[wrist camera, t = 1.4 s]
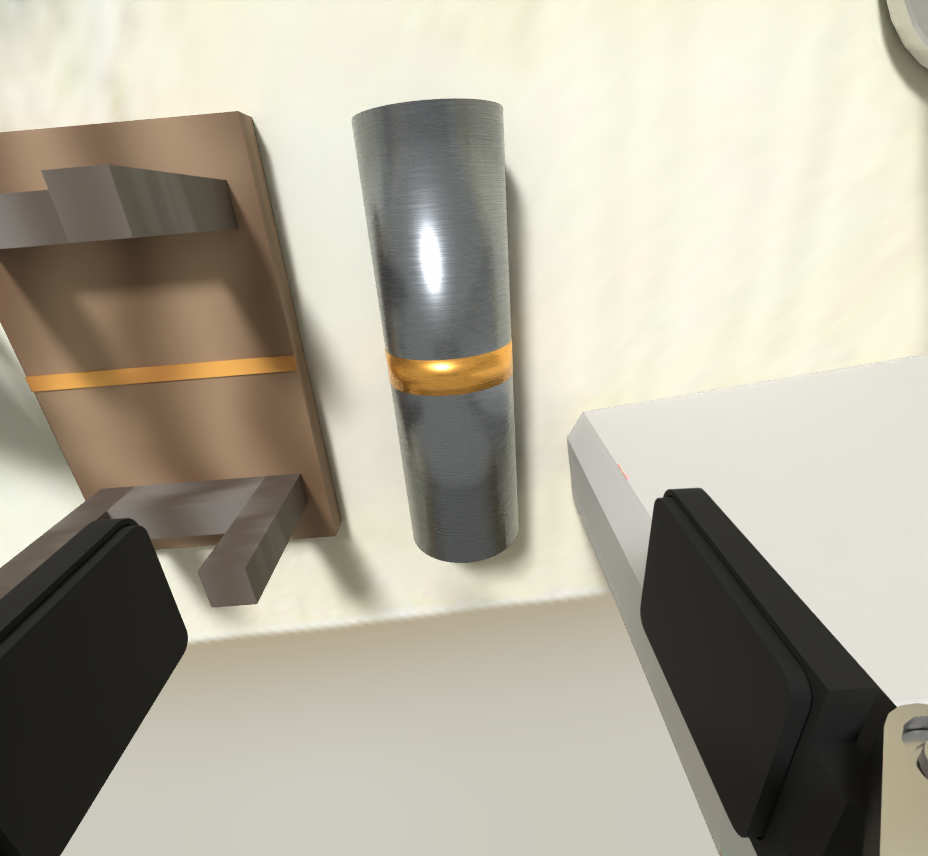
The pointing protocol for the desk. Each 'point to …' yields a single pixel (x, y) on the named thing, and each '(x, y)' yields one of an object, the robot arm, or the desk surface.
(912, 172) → the desk surface
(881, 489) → the bevelled white case
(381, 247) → the grey cylinder
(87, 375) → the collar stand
